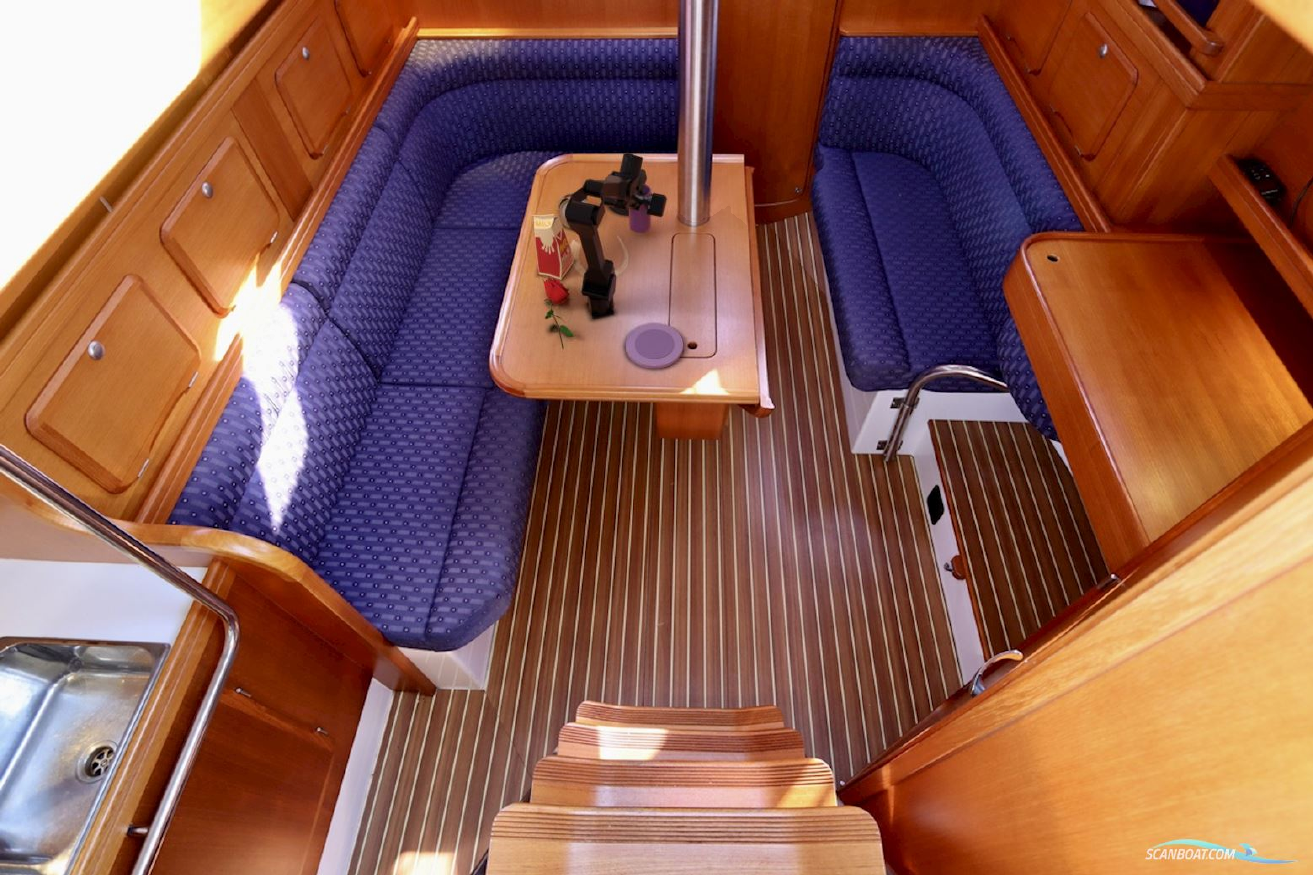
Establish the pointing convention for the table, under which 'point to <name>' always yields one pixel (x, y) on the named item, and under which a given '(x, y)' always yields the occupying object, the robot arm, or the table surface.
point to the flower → (556, 301)
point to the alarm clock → (562, 205)
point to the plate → (654, 345)
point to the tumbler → (640, 216)
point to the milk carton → (551, 246)
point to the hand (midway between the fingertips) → (641, 205)
